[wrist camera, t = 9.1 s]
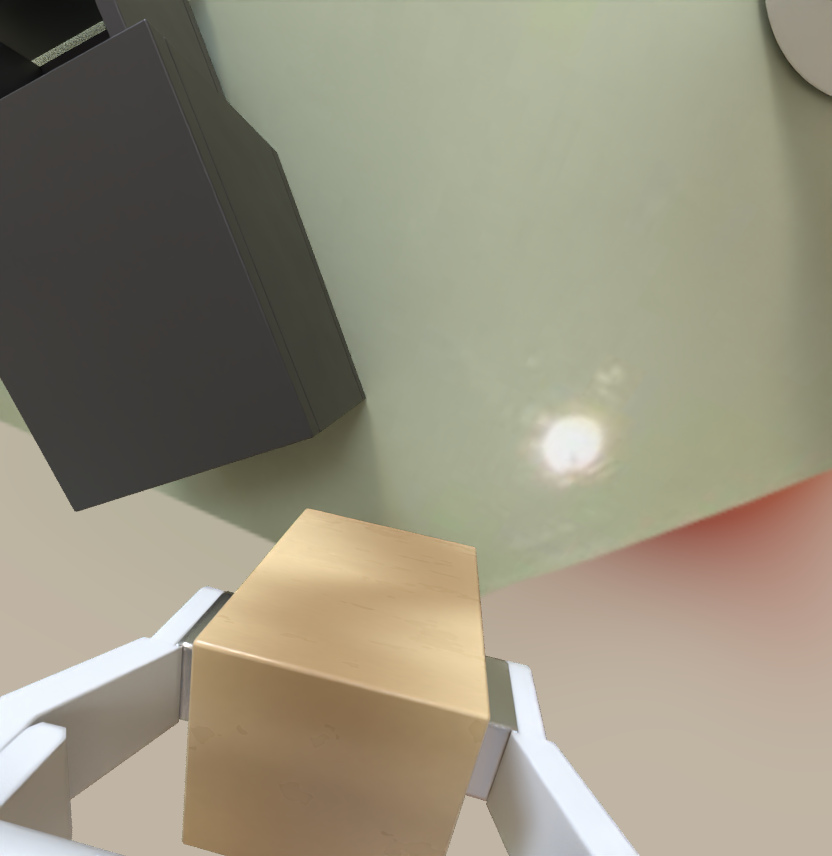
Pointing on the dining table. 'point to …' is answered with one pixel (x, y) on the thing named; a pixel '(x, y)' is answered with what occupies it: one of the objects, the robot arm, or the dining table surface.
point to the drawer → (74, 13)
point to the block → (338, 697)
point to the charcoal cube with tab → (155, 277)
